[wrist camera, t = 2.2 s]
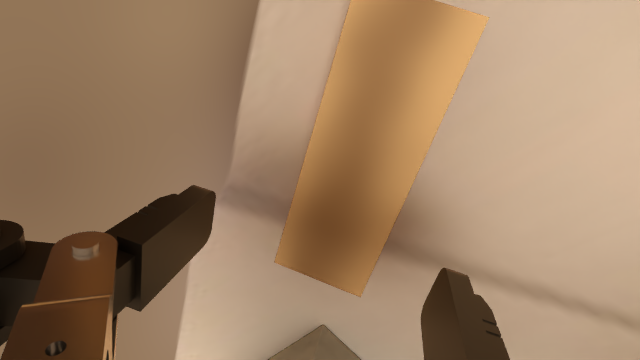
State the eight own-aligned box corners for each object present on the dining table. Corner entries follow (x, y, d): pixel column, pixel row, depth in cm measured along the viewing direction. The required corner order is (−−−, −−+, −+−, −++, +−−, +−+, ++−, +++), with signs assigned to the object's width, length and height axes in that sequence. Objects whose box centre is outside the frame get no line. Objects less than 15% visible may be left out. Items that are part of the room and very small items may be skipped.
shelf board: (473, 22, 15) (489, 17, 12) (366, 263, 21) (360, 297, 18) (366, -12, 15) (357, -23, 12) (291, 234, 21) (274, 262, 18)
